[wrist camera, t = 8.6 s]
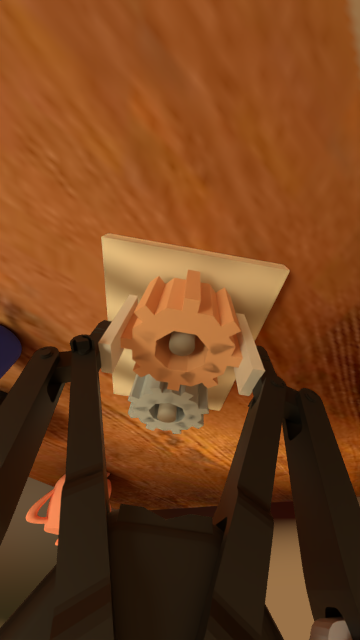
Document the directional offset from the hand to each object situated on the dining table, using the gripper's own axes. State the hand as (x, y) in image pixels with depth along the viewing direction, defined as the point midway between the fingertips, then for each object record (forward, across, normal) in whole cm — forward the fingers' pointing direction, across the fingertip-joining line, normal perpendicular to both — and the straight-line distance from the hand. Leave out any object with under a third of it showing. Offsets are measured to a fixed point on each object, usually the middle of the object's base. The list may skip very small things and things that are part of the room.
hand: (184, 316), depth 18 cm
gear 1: (0, 0, 0) cm, 0 cm away
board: (+3, 0, -6) cm, 6 cm away
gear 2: (+1, 0, -10) cm, 11 cm away
